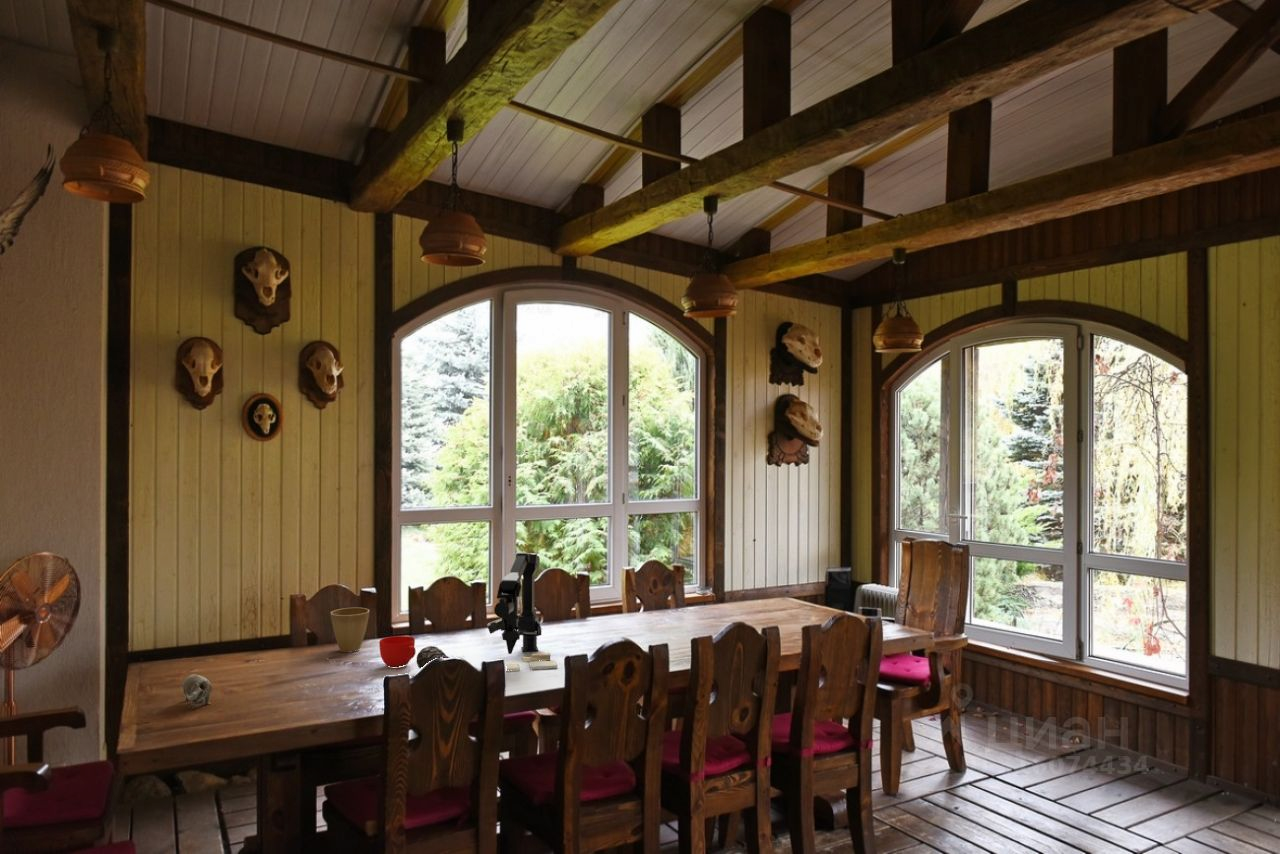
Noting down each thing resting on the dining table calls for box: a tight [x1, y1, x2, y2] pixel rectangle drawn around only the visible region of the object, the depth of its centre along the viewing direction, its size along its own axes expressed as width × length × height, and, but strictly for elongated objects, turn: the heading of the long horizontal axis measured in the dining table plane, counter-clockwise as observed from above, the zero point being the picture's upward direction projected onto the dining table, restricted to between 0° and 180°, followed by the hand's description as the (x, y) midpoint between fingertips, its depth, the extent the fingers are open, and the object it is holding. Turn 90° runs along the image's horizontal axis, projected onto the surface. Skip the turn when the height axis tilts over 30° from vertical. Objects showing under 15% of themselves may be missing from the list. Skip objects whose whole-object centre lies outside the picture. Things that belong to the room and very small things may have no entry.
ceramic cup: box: [378, 635, 417, 667], centre depth 312 cm, size 13×17×10 cm
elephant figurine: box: [182, 673, 213, 710], centre depth 265 cm, size 8×14×15 cm
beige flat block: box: [522, 652, 551, 663], centre depth 322 cm, size 5×10×2 cm, turn 102°
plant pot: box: [330, 607, 370, 653], centre depth 336 cm, size 15×15×16 cm
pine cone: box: [416, 645, 450, 669], centre depth 301 cm, size 10×18×10 cm, turn 46°
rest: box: [529, 660, 558, 670], centre depth 313 cm, size 7×10×1 cm
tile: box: [505, 661, 521, 672], centre depth 310 cm, size 2×7×8 cm
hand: (509, 653), depth 312 cm, fingers closed
